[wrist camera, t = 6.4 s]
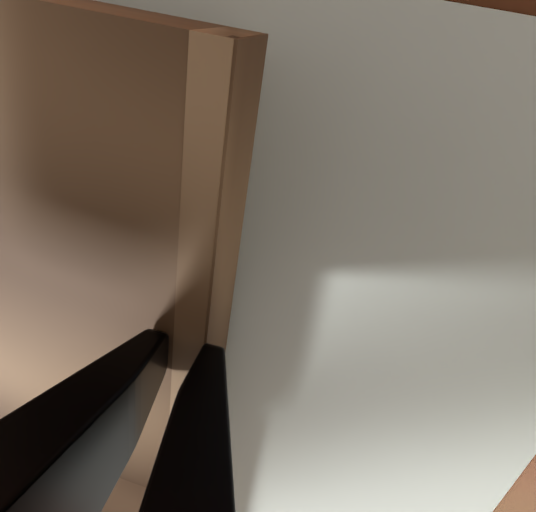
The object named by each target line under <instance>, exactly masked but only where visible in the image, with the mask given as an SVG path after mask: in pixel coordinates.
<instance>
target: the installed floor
mask: <svg viewBox="0 0 536 512" xmlns="http://www.w3.org/2000/svg"><path fill="white" fill-rule="evenodd" d="M95 1H100V2H105V3H110V4H116V5H121V6H126V7H131V8H136V9H142V10H147V11H152V12H157V13H162V14H167V15H173V16H178V17H183V18H188V19H193V20H199V21H204V22H209V23H214V24H219V25H225V26H230V27H235V28H240V29H245V30H251V31H256V32H261V33H266V34H268V42H267V49H266V56H265V64H264V71H263V79H262V86H261V93H260V101H259V108H258V115H257V123H256V130H255V138H254V145H253V152H252V160H251V167H250V175H249V182H248V189H247V197H246V204H245V211H244V219H243V226H242V234H241V241H240V248H239V256H238V263H237V271H236V278H235V285H234V293H233V300H232V307H231V315H230V322H229V330H228V337H227V344H226V352H225V358H226V373H227V388H228V404H229V419H230V434H231V449H232V465H233V480H234V495H235V510H236V512H493V510H494V509H495V508H496V506H497V505H498V504H499V502H500V501H501V500H502V498H503V497H504V496H505V494H506V493H507V492H508V490H509V489H510V488H511V486H512V485H513V484H514V482H515V481H516V480H517V478H518V477H519V476H520V474H521V473H522V472H523V470H524V469H525V468H526V466H527V465H528V464H529V462H530V461H531V460H532V458H533V457H534V456H535V455H536V16H531V15H525V14H520V13H514V12H508V11H502V10H497V9H491V8H485V7H480V6H474V5H468V4H462V3H457V2H451V1H445V0H95Z"/></svg>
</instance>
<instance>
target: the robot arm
mask: <svg viewBox="0 0 536 512" xmlns="http://www.w3.org/2000/svg"><path fill="white" fill-rule="evenodd" d="M168 349H169V336H168V334H167V333H165V332H161V331H158V330H154V329H146V330H144V331H142V332H141V333H139V334H137V335H136V336H134V337H133V338H131V339H129V340H128V341H126V342H124V343H123V344H121V345H120V346H118V347H116V348H115V349H113V350H111V351H110V352H108V353H107V354H105V355H103V356H102V357H100V358H98V359H97V360H95V361H94V362H92V363H90V364H89V365H87V366H85V367H84V368H82V369H81V370H79V371H77V372H76V373H74V374H72V375H71V376H69V377H68V378H66V379H64V380H63V381H61V382H59V383H58V384H56V385H55V386H53V387H51V388H50V389H48V390H46V391H45V392H43V393H42V394H40V395H38V396H37V397H35V398H33V399H32V400H30V401H28V402H27V403H25V404H24V405H22V406H20V407H19V408H17V409H15V410H14V411H12V412H11V413H9V414H7V415H6V416H4V417H2V418H1V419H0V512H101V511H102V509H103V507H104V506H105V504H106V502H107V500H108V498H109V496H110V494H111V493H112V491H113V489H114V487H115V485H116V483H117V481H118V480H119V478H120V476H121V474H122V472H123V470H124V468H125V467H126V465H127V463H128V461H129V459H130V457H131V455H132V453H133V451H134V449H135V447H136V445H137V442H138V440H139V438H140V435H141V433H142V431H143V428H144V426H145V423H146V421H147V418H148V416H149V413H150V411H151V408H152V406H153V403H154V401H155V398H156V396H157V393H158V391H159V388H160V386H161V383H162V381H163V378H164V376H165V373H166V370H167V365H168ZM139 512H236V510H235V495H234V480H233V465H232V449H231V434H230V419H229V404H228V388H227V373H226V358H225V349H224V348H223V347H221V346H217V345H213V344H209V343H205V344H204V345H203V346H202V347H201V349H200V351H199V353H198V355H197V357H196V358H195V360H194V362H193V364H192V366H191V368H190V369H189V371H188V373H187V375H186V377H185V379H184V380H183V382H182V384H181V386H180V388H179V390H178V393H177V395H176V398H175V401H174V404H173V407H172V410H171V413H170V416H169V419H168V422H167V426H166V429H165V432H164V435H163V438H162V441H161V444H160V447H159V450H158V453H157V456H156V459H155V463H154V466H153V469H152V472H151V475H150V478H149V481H148V484H147V487H146V490H145V493H144V496H143V500H142V503H141V506H140V509H139Z"/></svg>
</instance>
